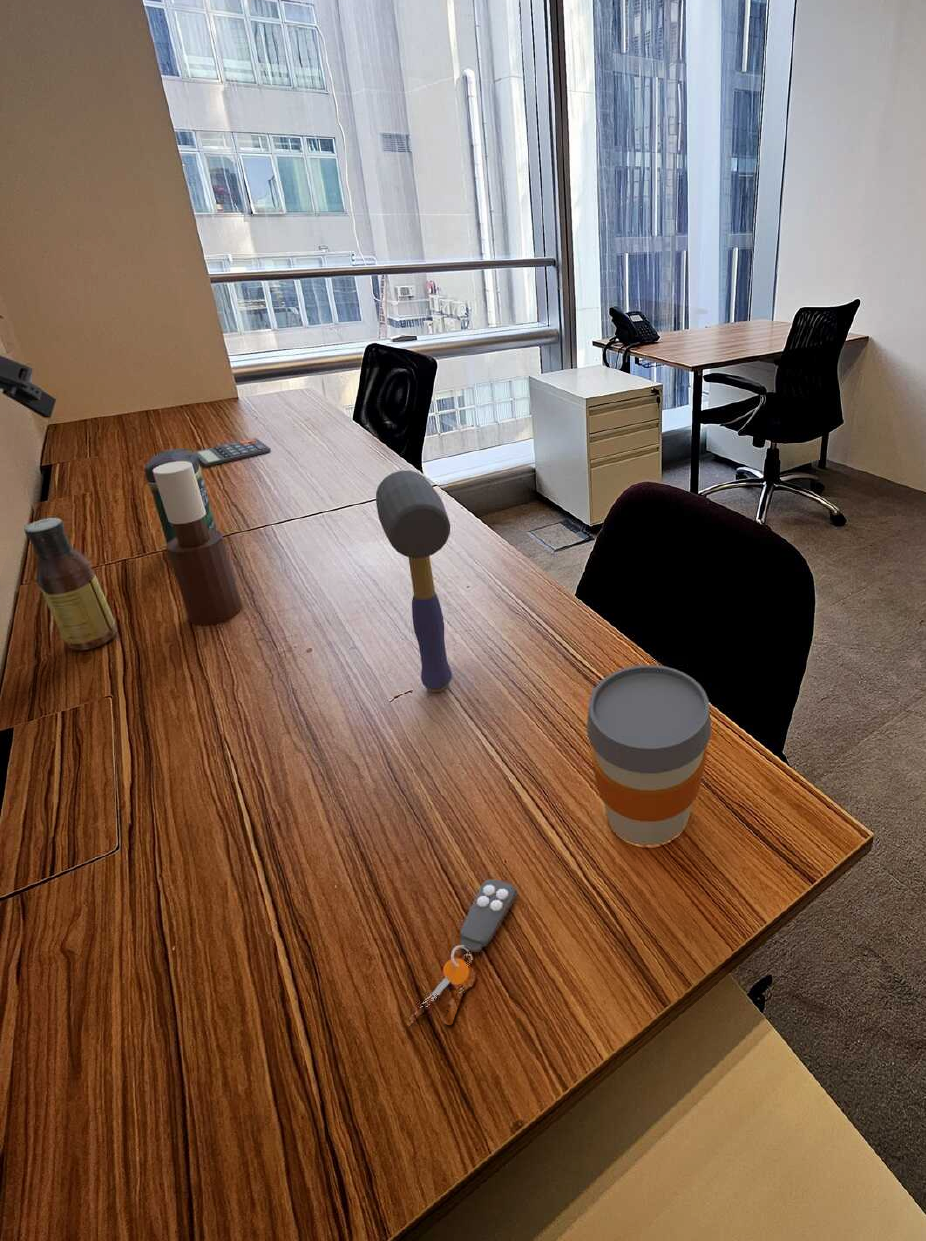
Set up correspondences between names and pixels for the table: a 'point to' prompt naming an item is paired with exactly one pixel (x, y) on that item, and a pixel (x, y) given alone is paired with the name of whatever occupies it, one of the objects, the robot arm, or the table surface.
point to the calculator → (231, 452)
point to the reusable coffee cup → (648, 749)
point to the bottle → (203, 573)
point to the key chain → (477, 929)
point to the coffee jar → (156, 461)
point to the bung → (179, 492)
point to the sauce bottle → (70, 587)
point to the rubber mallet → (419, 561)
